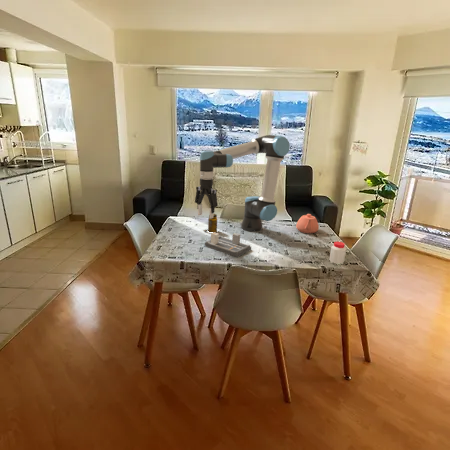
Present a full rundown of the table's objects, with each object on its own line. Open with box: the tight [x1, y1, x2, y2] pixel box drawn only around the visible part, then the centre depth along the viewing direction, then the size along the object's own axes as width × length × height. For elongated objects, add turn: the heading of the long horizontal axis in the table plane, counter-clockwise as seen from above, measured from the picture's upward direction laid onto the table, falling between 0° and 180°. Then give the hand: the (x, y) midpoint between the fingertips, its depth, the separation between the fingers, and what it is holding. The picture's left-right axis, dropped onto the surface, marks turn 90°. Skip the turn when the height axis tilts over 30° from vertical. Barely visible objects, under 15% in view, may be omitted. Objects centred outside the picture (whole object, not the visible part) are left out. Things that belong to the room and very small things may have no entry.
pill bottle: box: [328, 241, 347, 263], centre depth 163 cm, size 8×8×11 cm
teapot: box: [295, 213, 320, 234], centre depth 211 cm, size 22×16×12 cm
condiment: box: [203, 213, 220, 233], centre depth 202 cm, size 7×8×12 cm
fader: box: [210, 232, 220, 244], centre depth 177 cm, size 4×3×6 cm
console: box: [204, 232, 252, 258], centre depth 176 cm, size 24×14×8 cm, turn 52°
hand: (205, 216), depth 177 cm, fingers open, 8 cm apart
